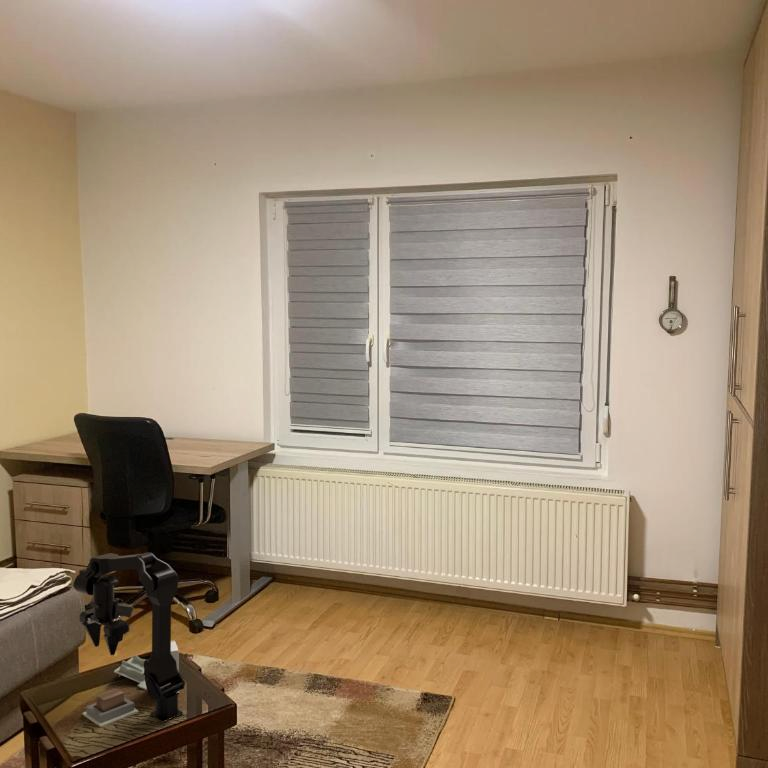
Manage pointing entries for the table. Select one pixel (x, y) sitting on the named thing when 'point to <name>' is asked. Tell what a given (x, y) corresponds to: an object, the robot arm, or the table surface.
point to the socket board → (110, 713)
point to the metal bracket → (133, 670)
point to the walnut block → (110, 700)
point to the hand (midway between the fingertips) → (104, 650)
